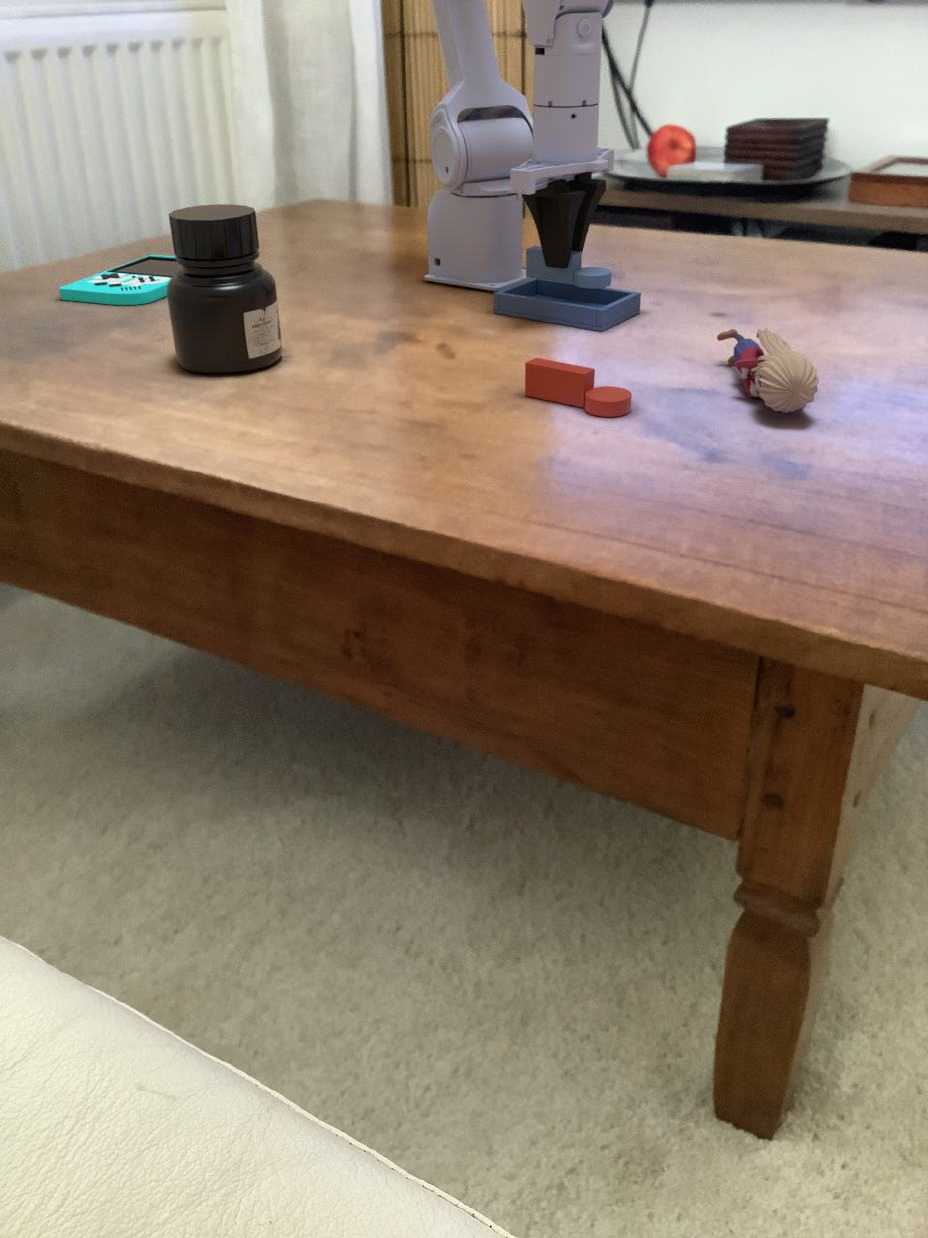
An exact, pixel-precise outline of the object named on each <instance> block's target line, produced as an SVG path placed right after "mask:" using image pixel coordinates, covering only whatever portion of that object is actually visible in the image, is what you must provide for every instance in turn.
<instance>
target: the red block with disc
mask: <svg viewBox="0 0 928 1238" xmlns="http://www.w3.org/2000/svg"><path fill="white" fill-rule="evenodd" d="M595 372H596V369H595V368H593V367H587V366H583V365H577V364H571V363H566V362H561V361H555V360H551V359H545V358H541V357H534V358H531V359H529V360H527V361H525V363H524V396H526V397H530V398H535V399H540V400H545V401H548V402H549V401H550V402H554V403H558V404H564V405H568V406H573V407H578V408H583V409H584V411H585V412H586V413H588V414H589V415H593V416H596V417H603V418H615V417H621V416H624V415H627V414H629V413H630V412H631V410H632V395H633V394H632V392H631V391H630V390H628V389H627V388H623V387H619V386H612V385H611V386H608V385H605V386H603V385H602V386H595V378H596V377H595V375H596V374H595Z"/></svg>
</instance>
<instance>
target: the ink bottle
mask: <svg viewBox="0 0 928 1238" xmlns="http://www.w3.org/2000/svg"><path fill="white" fill-rule="evenodd" d="M168 220H169V227H170V234H171V241H172V247H173V253H174V256H175V260H176V262H177V263H178V264H180V265H182V267H180V268H179V269H178V270H177V271H176V275H175V276H173V277H172V278H171V279H170V281H169V282H168V285H167V296H166V297H167V305H168V312H169V319H170V325H171V330H172V338H173V344H174V345H173V346H174V352H175V357H176V361H177V363H178V364H179V365H180V366H181V367H182V368H184V369H185V370H187V371H191V372H194V373H202V374H231V373H240V372H249V371H254V370H259V369H262V368H266V367H268V366H270V365H273V364H274V363H275V362H277V361H278V360H279V359H280V357H281V356H282V354H283V341H282V332H281V322H280V321H281V320H280V311H279V302H278V292H277V285H276V284H277V283H276V280H275V278H274V277H273V275H272V274H271V272H269V271H268V270H266V269H264V268H263V266H262V265H261V263H259V262H257V261H256V260H257V259H258V258H259V257H260V250H259V249H260V242H259V233H258V232H259V231H258V223H257V213H256V210H255V208H254V207H252V206H248V205H243V204H242V205H241V204H234V203H232V204H231V203H229V204H225V203H224V204H221V203H217V204H204V205H202V204H201V205H194V206H189V207H188V206H186V207H183V208H179V209H175V210H173V211H171V212H169V213H168Z"/></svg>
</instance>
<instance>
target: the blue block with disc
mask: <svg viewBox="0 0 928 1238" xmlns="http://www.w3.org/2000/svg"><path fill="white" fill-rule="evenodd" d="M582 265H583V252H579V251H571V257H570V261H569V265H568V268H565V269H560V268H553V267H546V265H545V261H544V257H543V252H542V248H541V245H540V246H538V245H532V246H530V247H527V248H526V249H525V269H526V277H531V278H538V279H545V280H552V281H559V282H566V283H574V285H575V286H577V287H581V288H588V289H598V288H605V287H606V288H609V287H610V286H611V285H612V274H613V273H612V272H613V271H612V270H611V269H609V268H607V267H601V266H585V267H584V266H583V267H582Z"/></svg>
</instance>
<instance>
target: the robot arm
mask: <svg viewBox="0 0 928 1238" xmlns="http://www.w3.org/2000/svg"><path fill="white" fill-rule="evenodd" d="M520 2H521V5H522V9H523V12H524V14H525V18H526V37H527V38H528V44H529V45H531V46H533V58H532V59H533V60H532V61H533V66H532V69H533V70H532V73H533V76H532V77H533V78H532V115H531V112H530V108H529V104H528V99H527V97H526V96H525V95H524V94H523V93H521V92H520V91H518V89H516V88H515V87H513V86H512V85H510V84H509V83H508V82H506V81H505V80H504V79H502V77H501V73H500V69H499V64H498V58H497V54H496V50H495V44H494V39H493V34H492V30H491V25H490V20H489V15H488V10H487V6H486V1H485V0H430V4H431V9H432V14H433V20H434V24H435V29H436V33H437V38H438V42H439V48H440V53H441V57H442V62H443V67H444V71H445V75H446V80H447V86H448V90H449V91H448V92H447V93H446V94H445V95H444V97H443V98H442V99H441V100H440V101H439V102H438V103H437V105H436V106H435V107H434V109H433V111H432V112H431V115H430V117H429V120H428V121H429V129H430V136H431V137H430V139H431V145H430V157H431V164H432V168H433V172H434V175H435V176H436V177H435V178H436V179H437V180H438V181H439V183H440V184H441V185H442V186H443V187H442V188H440V189H438V190H437V191H436V192H435V193H434V194H433V195H432V197H431V199H430V202H429V204H428V208H427V213H426V215H427V216H426V233H427V235H426V237H427V259H428V260H427V263H428V264H427V265H428V273H427V274H424V276H423V278H424V281H427V282H432V283H433V282H434V283H439V284H446V285H453V286H458V287H459V286H460V287H466V288H472V289H477V290H484V291H490V292H498V291H500V290H503V289H506V288H508V287H511V286H513V285H516V284H518V283H521V282H524V281H526V280H529V279H531V277H526V268H523V238H524V237H523V236H524V235H523V231H524V230H523V228H524V227H523V224H524V221H523V220H524V219H523V217H524V214H523V213H524V212H523V211H524V210H523V209H524V207H523V206H524V202H525V204H526V206H527V208H528V210H529V211H530V214H531V217H532V219H533V222H534V225H535V227H536V230H537V236H538V239H539V242H540V247H541V248H542V252H543V257H544V261H545V265H546V267H553V268H560V269H565V268H568V265H569V261H570V257H571V251H579V252H582V253H583V251H584V247H585V244H586V239H587V235H588V233H589V229H590V225H591V222H592V220H593V217H594V215H595V212H596V210H597V207H598V206H599V203H600V201H601V200H602V198H603V197H604V195H605V193H606V191H607V181H606V179H598V178H592V177H593V175H594V174H599V173H601V172H602V173H610V172H613V171H614V169H615V168H614V167H615V148H610V147H598V145H599V120H600V119H599V118H600V98H601V97H600V92H601V69H602V67H601V66H602V40H603V39H602V37H603V36H602V35H603V20H604V19H605V18H607V16H609V14H610V13H611V12H612V10H613V9H614V5H615V4H616V0H520Z"/></svg>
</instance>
